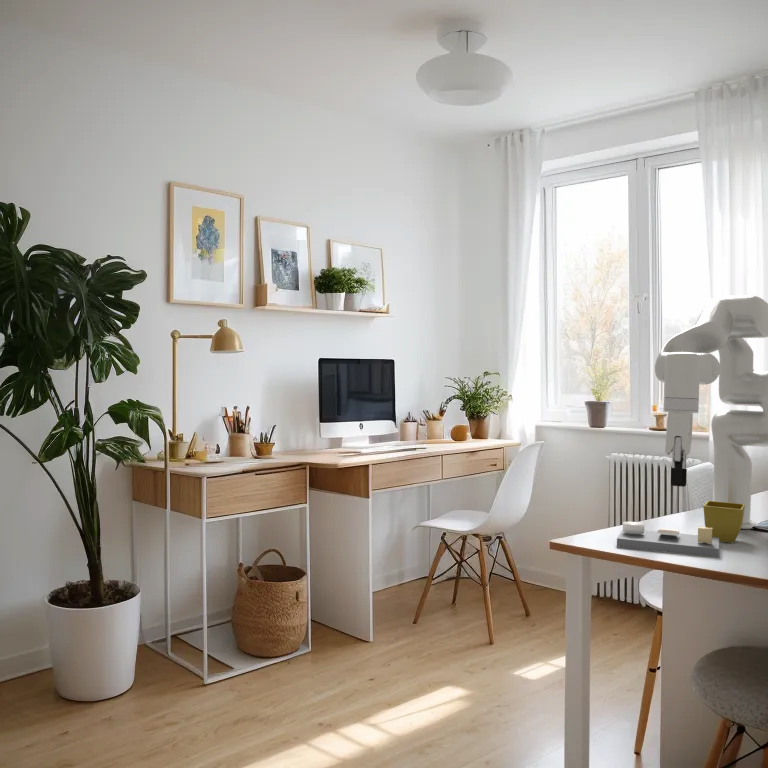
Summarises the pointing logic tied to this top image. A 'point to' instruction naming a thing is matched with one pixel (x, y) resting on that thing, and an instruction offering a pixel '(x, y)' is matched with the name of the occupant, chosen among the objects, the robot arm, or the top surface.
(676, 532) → the rocker
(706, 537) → the cream small block
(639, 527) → the push button
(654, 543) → the switch panel
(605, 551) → the top surface
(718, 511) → the flower pot
